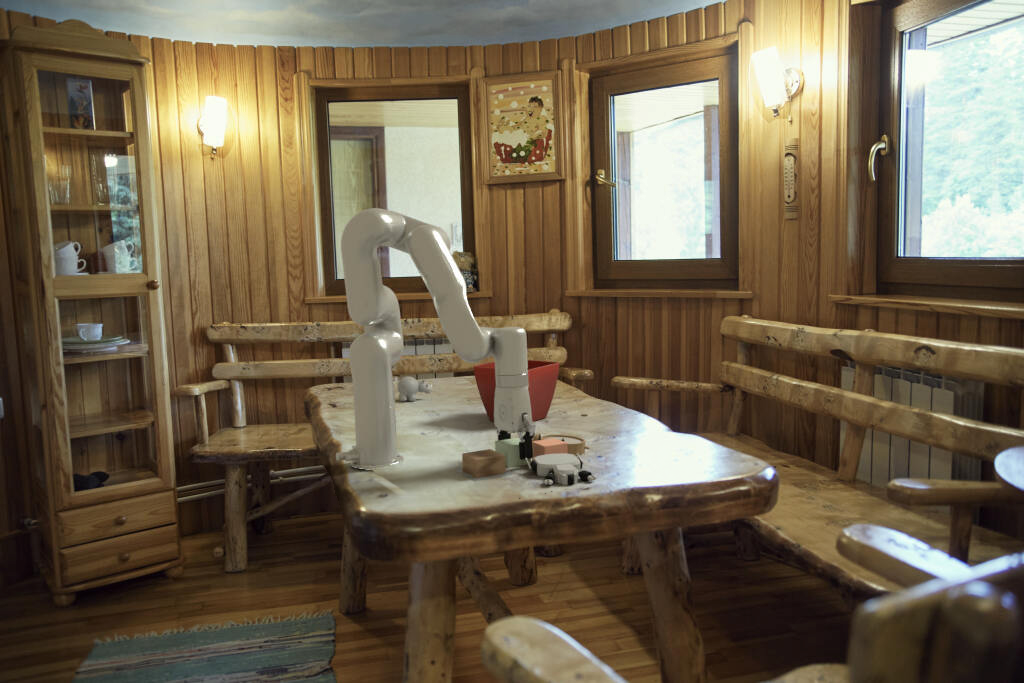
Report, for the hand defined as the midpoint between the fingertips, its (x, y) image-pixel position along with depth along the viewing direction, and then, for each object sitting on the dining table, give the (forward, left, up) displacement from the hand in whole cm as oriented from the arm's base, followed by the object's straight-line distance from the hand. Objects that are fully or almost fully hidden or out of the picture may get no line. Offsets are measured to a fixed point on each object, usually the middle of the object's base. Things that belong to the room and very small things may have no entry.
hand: (515, 454), depth 182 cm
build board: (-10, -3, -3) cm, 11 cm away
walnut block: (-10, -3, -2) cm, 11 cm away
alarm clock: (+15, +6, -3) cm, 16 cm away
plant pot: (+28, +47, -3) cm, 55 cm away
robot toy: (+2, -15, -3) cm, 16 cm away
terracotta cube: (+6, -5, -3) cm, 8 cm away
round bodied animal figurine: (+16, +97, -3) cm, 98 cm away
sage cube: (0, 0, -3) cm, 3 cm away
